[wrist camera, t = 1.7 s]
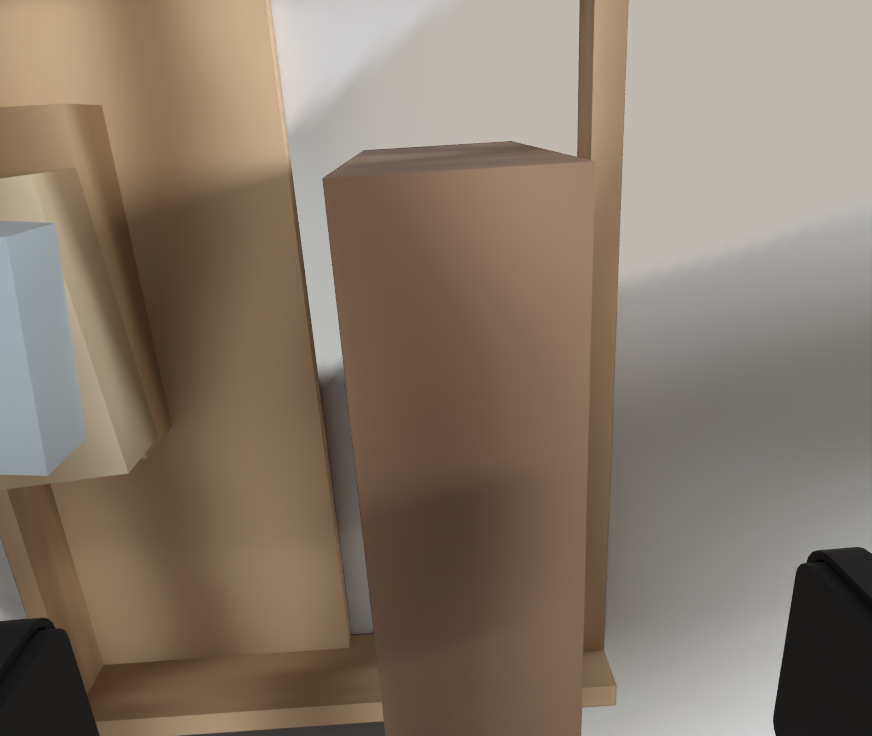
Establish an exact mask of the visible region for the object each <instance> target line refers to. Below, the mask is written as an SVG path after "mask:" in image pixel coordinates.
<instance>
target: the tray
mask: <svg viewBox="0 0 872 736" xmlns="http://www.w3.org/2000/svg"><path fill="white" fill-rule="evenodd" d="M628 2H629V0H580V25H579V27H580V29H579V89H578V152H577V155H578V156H577V157H579V158H583V159H587V160H592V161H595V191H594V232H593V272H592V313H591V353H590V394H589V434H588V474H587V515H586V555H585V596H584V636H583V677H582V707H594V706H609V705H616V683H615V680H614V678H613V675H612V672H611V669H610V666H609V664H608V661H607V658H606V655H605V652H604V630H605V604H606V578H607V552H608V525H609V499H610V473H611V447H612V421H613V395H614V368H615V342H616V316H617V290H618V264H619V238H620V211H621V185H622V156H623V133H624V106H625V80H626V54H627V53H626V52H627V28H628ZM63 103H64V104H88V105H102V108H103V113H104V117H105V122H106V127H107V131H108V136H109V140H110V145H111V150H112V154H113V159H114V164H115V168H116V173H117V177H118V182H119V187H120V191H121V196H122V200H123V205H124V210H125V214H126V219H127V224H128V228H129V233H130V237H131V242H132V247H133V251H134V256H135V261H136V265H137V270H138V274H139V279H140V284H141V288H142V293H143V298H144V302H145V307H146V311H147V316H148V321H149V325H150V330H151V335H152V339H153V344H154V348H155V353H156V358H157V362H158V367H159V371H160V376H161V381H162V385H163V390H164V395H165V399H166V404H167V408H168V413H169V418H170V422H171V428H170V429H169V431H168V432H167V433H166V434H165V436H164V437H163V438H162V440H161V441H160V442H159V443H158V445H157V446H156V447H155V448H154V450H153V451H152V452H151V454H150V455H149V456H148V457H147V458H146V459H140V460H139V461H138V462H137V464H136V465H135V466H134V467H133V469H132V470H131V471H130V472H129V474H121V475H113V476H105V477H98V478H90V479H82V480H74V481H67V482H59V483H51V484H44V485H36V486H28V487H20V488H13V489H5V490H0V537H1V540H2V543H3V546H4V549H5V552H6V555H7V558H8V561H9V564H10V567H11V570H12V573H13V576H14V579H15V582H16V585H17V588H18V591H19V594H20V597H21V600H22V603H23V606H24V609H25V612H26V614H27V617H28V619H32V618H48V619H49V620H50V621H52V622H53V624H54V626H55V628H56V629H58V628H60V629H64V630H65V631H66V632H67V634H68V636H69V639H70V642H71V646H72V649H73V652H74V655H75V658H76V662H77V665H78V668H79V671H80V674H81V678H82V681H83V684H84V687H85V690H86V693H87V697H88V700H89V703H90V706H91V709H92V713H93V716H94V719H95V722H96V725H97V729H98V732H99V735H100V736H179V735H193V734H208V733H222V732H236V731H251V730H265V729H279V728H294V727H308V726H322V725H337V724H351V723H365V722H379V721H384V718H383V709H382V701H381V692H380V683H379V674H378V665H377V656H376V647H375V639H374V634H365V635H351V629H350V622H349V614H348V606H347V598H346V590H345V583H344V575H343V567H342V559H341V551H340V544H339V536H338V528H337V520H336V512H335V504H334V497H333V489H332V481H331V473H330V465H329V458H328V450H327V442H326V434H325V426H324V418H323V411H322V403H321V395H320V387H319V379H318V372H317V364H316V356H315V348H314V340H313V333H312V325H311V317H310V310H309V302H308V293H307V286H306V278H305V270H304V262H303V255H302V247H301V239H300V231H299V223H298V215H297V207H296V200H295V192H294V184H293V176H292V168H291V161H290V153H289V145H288V137H287V129H286V121H285V114H284V106H283V98H282V90H281V82H280V75H279V67H278V59H277V51H276V43H275V35H274V28H273V20H272V12H271V4H270V0H0V107H14V106H30V105H47V104H63Z"/></svg>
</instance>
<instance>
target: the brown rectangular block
mask: <svg viewBox="0 0 872 736" xmlns="http://www.w3.org/2000/svg"><path fill="white" fill-rule="evenodd" d="M323 187H324V195H325V205H326V214H327V223H328V232H329V240H330V249H331V258H332V266H333V275H334V285H335V294H336V302H337V311H338V320H339V329H340V338H341V347H342V355H343V364H344V373H345V382H346V391H347V400H348V409H349V417H350V426H351V435H352V444H353V453H354V462H355V470H356V479H357V488H358V497H359V506H360V515H361V524H362V532H363V541H364V550H365V559H366V568H367V577H368V586H369V594H370V603H371V612H372V621H373V630H374V639H375V647H376V656H377V665H378V674H379V683H380V692H381V701H382V709H383V718H384V727H385V736H581V717H582V677H583V636H584V596H585V555H586V515H587V474H588V434H589V394H590V353H591V313H592V272H593V232H594V191H595V161H592V160H587V159H583V158H579V157H574V156H571V155H566V154H562V153H558V152H554V151H550V150H546V149H541V148H537V147H533V146H528V145H525V144H520V143H516V142H512V141H507V142H491V143H474V144H458V145H444V146H443V145H442V146H426V147H410V148H395V149H378V150H364V151H362V152H361V153H360V154H358V155H357V156H355V157H354V158H352V159H351V160H349V161H348V162H346V163H345V164H343V165H342V166H340V167H339V168H337V169H336V170H334V171H333V172H331V173H330V174H328V175H327V176H326V177H324V178H323Z"/></svg>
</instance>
